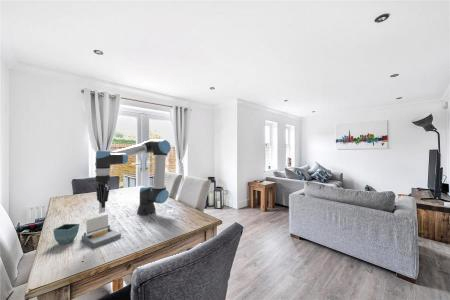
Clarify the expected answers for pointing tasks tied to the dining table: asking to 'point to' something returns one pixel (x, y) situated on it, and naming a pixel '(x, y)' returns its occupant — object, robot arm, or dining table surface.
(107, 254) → the dining table surface
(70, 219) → the dining table surface
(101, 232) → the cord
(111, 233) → the desk card holder
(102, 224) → the cover
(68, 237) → the flower pot
